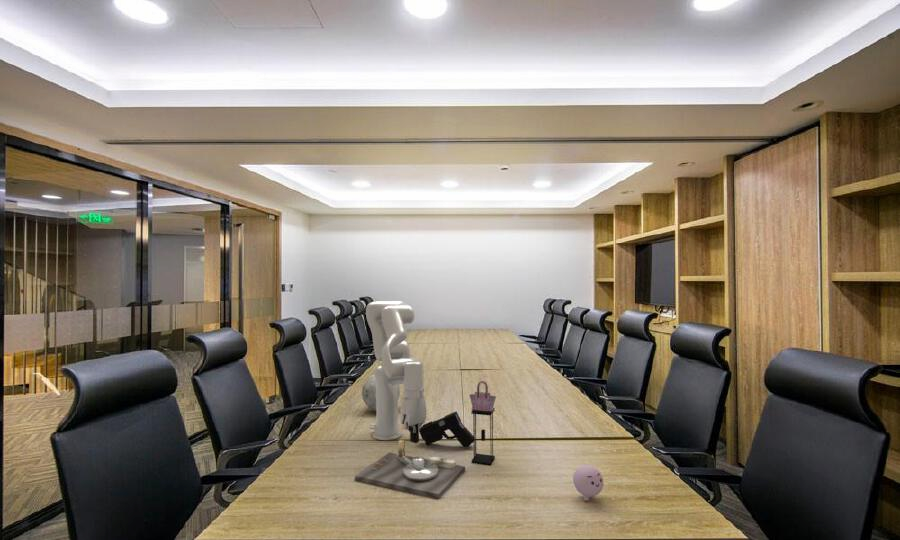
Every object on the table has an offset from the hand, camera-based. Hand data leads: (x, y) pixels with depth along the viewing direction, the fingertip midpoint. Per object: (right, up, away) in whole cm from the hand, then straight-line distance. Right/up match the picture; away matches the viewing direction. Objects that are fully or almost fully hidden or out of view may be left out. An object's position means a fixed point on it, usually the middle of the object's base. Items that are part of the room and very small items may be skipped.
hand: (414, 441), depth 165 cm
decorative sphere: (-23, -9, +63) cm, 68 cm away
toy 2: (+57, -6, -30) cm, 65 cm away
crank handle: (0, -5, -11) cm, 12 cm away
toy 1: (+12, -8, +14) cm, 20 cm away
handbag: (+26, -7, -1) cm, 27 cm away
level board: (0, -7, -13) cm, 15 cm away
